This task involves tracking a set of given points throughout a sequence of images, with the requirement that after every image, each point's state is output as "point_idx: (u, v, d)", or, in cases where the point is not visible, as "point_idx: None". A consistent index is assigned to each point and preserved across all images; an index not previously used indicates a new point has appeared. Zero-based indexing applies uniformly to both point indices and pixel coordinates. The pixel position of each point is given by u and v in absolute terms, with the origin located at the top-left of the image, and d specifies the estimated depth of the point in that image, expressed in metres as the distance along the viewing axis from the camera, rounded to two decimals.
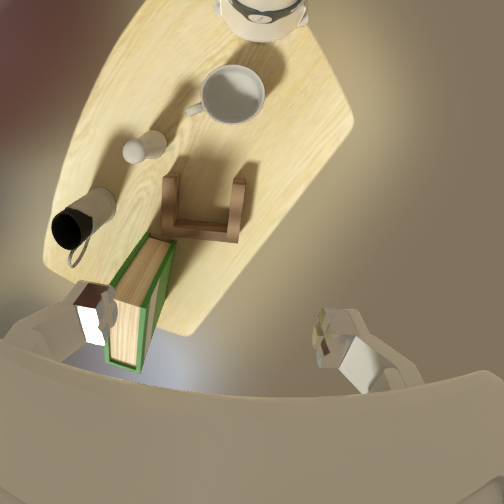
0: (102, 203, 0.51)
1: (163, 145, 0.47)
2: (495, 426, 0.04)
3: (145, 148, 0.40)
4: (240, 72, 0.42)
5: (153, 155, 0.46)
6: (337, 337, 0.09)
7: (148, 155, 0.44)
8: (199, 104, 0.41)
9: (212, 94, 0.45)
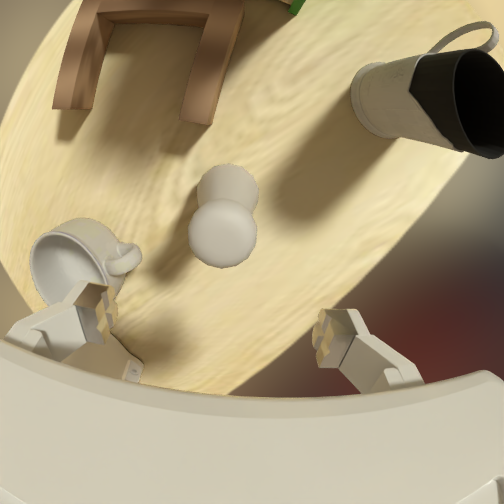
0: (375, 104, 0.20)
1: (197, 193, 0.24)
2: (495, 426, 0.04)
3: (188, 238, 0.17)
4: None
5: (210, 184, 0.21)
6: (337, 337, 0.09)
7: (210, 196, 0.19)
8: (110, 273, 0.23)
9: None
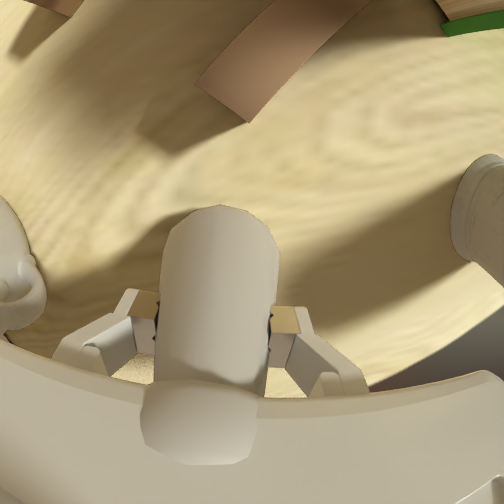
0: (499, 226, 0.11)
1: (167, 247, 0.12)
2: (495, 426, 0.04)
3: None
4: None
5: (202, 264, 0.09)
6: (276, 335, 0.09)
7: (194, 316, 0.07)
8: None
9: None
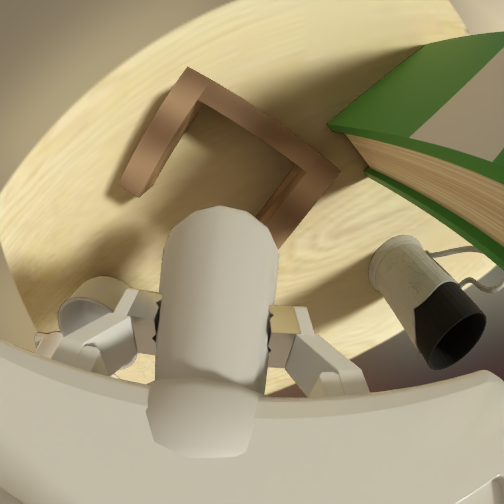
0: (387, 284, 0.29)
1: (168, 247, 0.12)
2: (495, 426, 0.04)
3: None
4: None
5: (203, 264, 0.09)
6: (276, 335, 0.09)
7: (195, 315, 0.08)
8: None
9: None
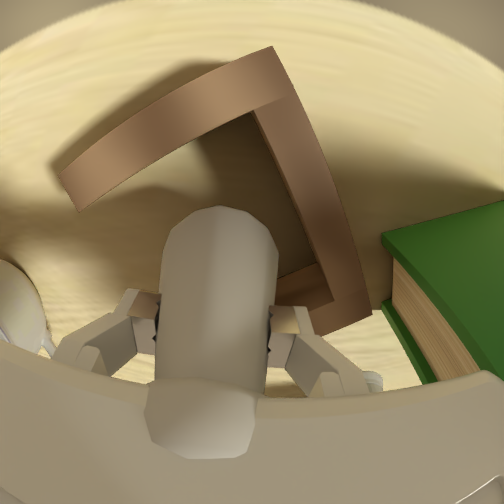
0: None
1: (167, 247, 0.12)
2: (495, 426, 0.04)
3: None
4: None
5: (202, 263, 0.09)
6: (276, 335, 0.09)
7: (195, 314, 0.08)
8: None
9: None
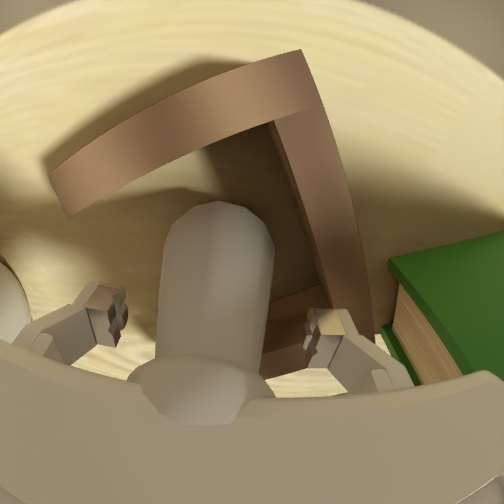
0: None
1: (168, 240, 0.12)
2: (495, 426, 0.04)
3: None
4: None
5: (201, 254, 0.10)
6: (325, 337, 0.09)
7: (193, 300, 0.08)
8: None
9: None
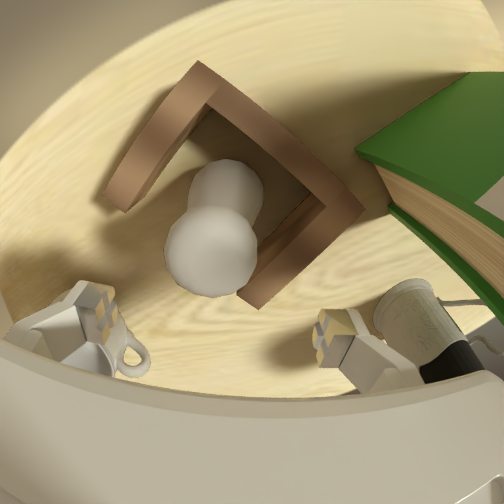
0: (393, 332, 0.26)
1: None
2: (495, 426, 0.04)
3: (165, 261, 0.12)
4: None
5: (201, 185, 0.17)
6: (337, 337, 0.09)
7: (198, 201, 0.15)
8: (120, 371, 0.24)
9: None
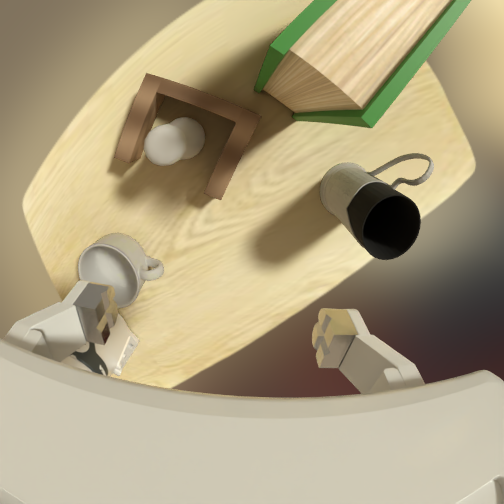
0: (331, 201, 0.36)
1: None
2: (495, 426, 0.04)
3: None
4: (110, 284, 0.43)
5: None
6: (337, 337, 0.09)
7: None
8: (142, 278, 0.37)
9: None
